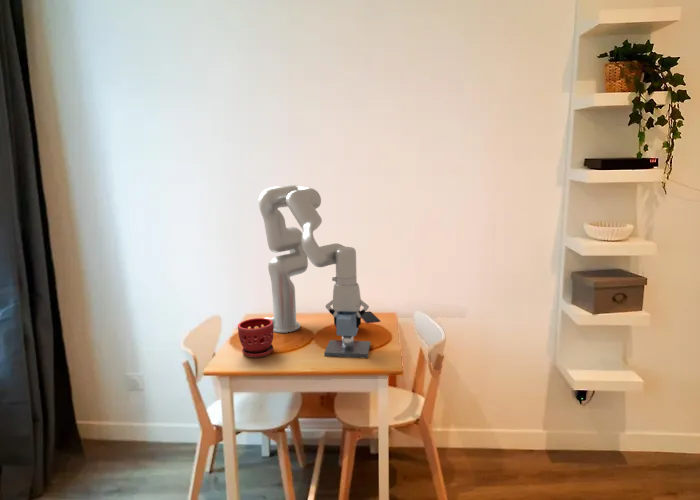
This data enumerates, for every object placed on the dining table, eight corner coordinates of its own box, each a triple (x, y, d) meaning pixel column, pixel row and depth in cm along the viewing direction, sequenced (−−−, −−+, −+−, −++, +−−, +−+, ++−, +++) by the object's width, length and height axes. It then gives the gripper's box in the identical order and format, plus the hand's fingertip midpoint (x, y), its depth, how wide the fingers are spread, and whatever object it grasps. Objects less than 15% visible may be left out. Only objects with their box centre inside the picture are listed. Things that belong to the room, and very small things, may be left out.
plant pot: (279, 346, 198) (278, 317, 196) (267, 361, 186) (265, 330, 183) (248, 344, 201) (246, 315, 198) (234, 358, 189) (231, 328, 186)
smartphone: (370, 311, 236) (381, 321, 223) (370, 312, 236) (381, 322, 223) (356, 312, 234) (366, 323, 221) (356, 314, 234) (366, 324, 221)
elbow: (334, 340, 185) (334, 319, 183) (339, 328, 196) (339, 308, 194) (354, 340, 184) (353, 319, 182) (358, 328, 195) (357, 308, 193)
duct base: (324, 356, 189) (323, 339, 187) (330, 343, 200) (329, 327, 199) (367, 358, 187) (367, 341, 185) (370, 345, 198) (370, 329, 197)
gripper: (321, 283, 185) (322, 329, 189) (368, 283, 183) (369, 330, 187) (325, 277, 192) (326, 322, 196) (370, 278, 190) (371, 323, 194)
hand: (347, 325), depth 191 cm, fingers closed on elbow, 7 cm apart
